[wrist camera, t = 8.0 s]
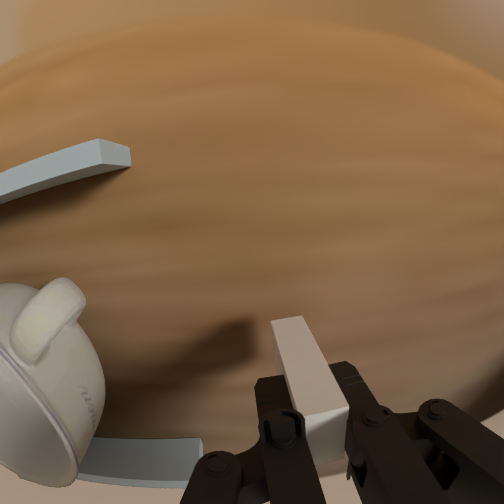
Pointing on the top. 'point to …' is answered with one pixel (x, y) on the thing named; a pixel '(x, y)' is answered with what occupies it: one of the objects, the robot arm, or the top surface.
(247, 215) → the top surface
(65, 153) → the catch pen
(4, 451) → the teacup
